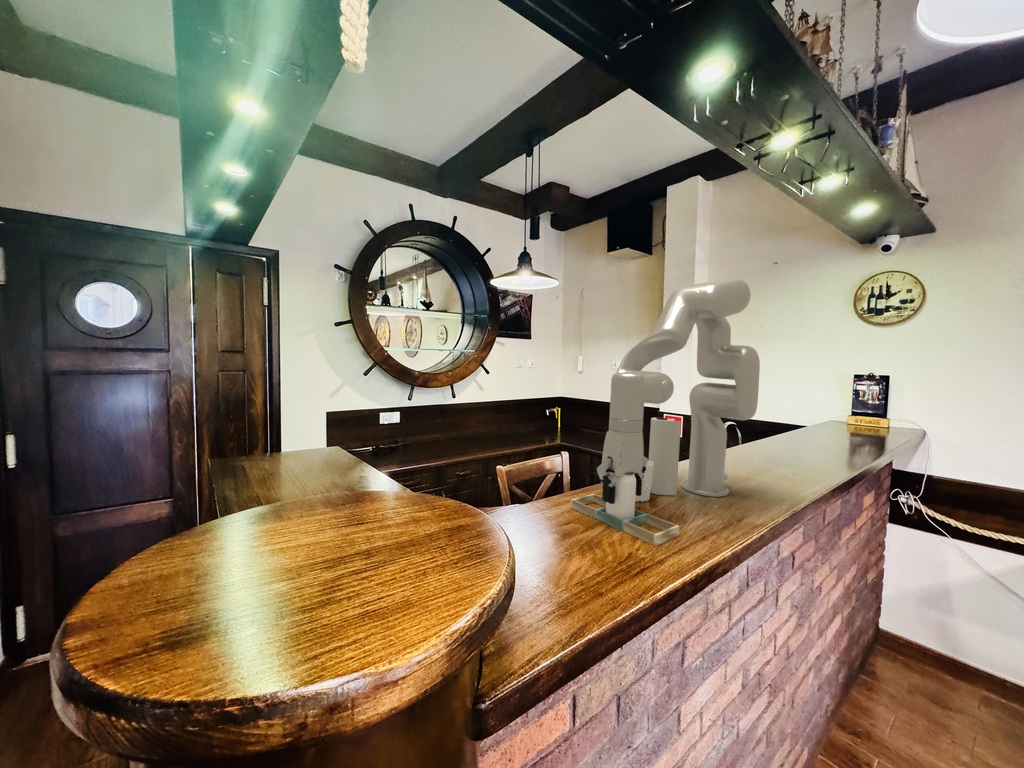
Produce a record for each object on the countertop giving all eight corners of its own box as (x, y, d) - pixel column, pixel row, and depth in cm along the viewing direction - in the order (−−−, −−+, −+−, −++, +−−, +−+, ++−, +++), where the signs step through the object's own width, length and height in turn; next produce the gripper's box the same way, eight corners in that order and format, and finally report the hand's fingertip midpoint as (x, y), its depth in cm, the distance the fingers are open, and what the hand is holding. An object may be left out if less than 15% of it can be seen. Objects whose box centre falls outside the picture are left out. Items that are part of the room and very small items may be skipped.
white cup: (648, 493, 118) (650, 459, 117) (654, 503, 110) (657, 466, 110) (619, 492, 119) (621, 457, 118) (624, 501, 111) (626, 464, 110)
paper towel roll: (642, 489, 122) (646, 416, 120) (660, 487, 124) (664, 416, 122) (658, 497, 115) (662, 421, 113) (676, 496, 117) (681, 420, 115)
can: (599, 517, 100) (602, 468, 99) (622, 514, 102) (624, 466, 101) (616, 528, 94) (619, 476, 93) (639, 525, 96) (642, 473, 95)
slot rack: (593, 501, 110) (593, 493, 110) (679, 535, 91) (679, 526, 91) (570, 508, 105) (570, 499, 105) (655, 545, 86) (656, 535, 86)
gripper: (635, 420, 105) (631, 487, 106) (587, 426, 94) (584, 500, 95) (661, 425, 99) (657, 496, 100) (614, 432, 88) (610, 510, 89)
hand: (621, 498), depth 98 cm, fingers open, 9 cm apart
